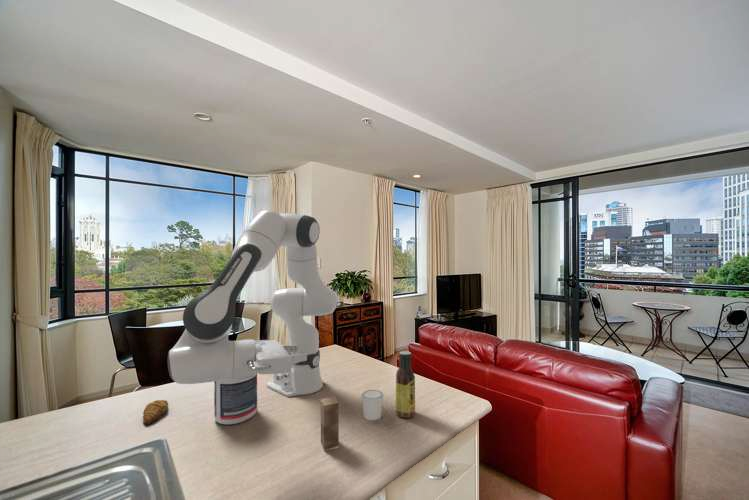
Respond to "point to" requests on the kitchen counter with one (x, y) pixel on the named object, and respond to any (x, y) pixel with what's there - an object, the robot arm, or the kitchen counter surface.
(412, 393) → the sauce bottle
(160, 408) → the croissant
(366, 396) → the white tapered cylinder
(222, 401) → the supplement tub
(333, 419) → the walnut block
